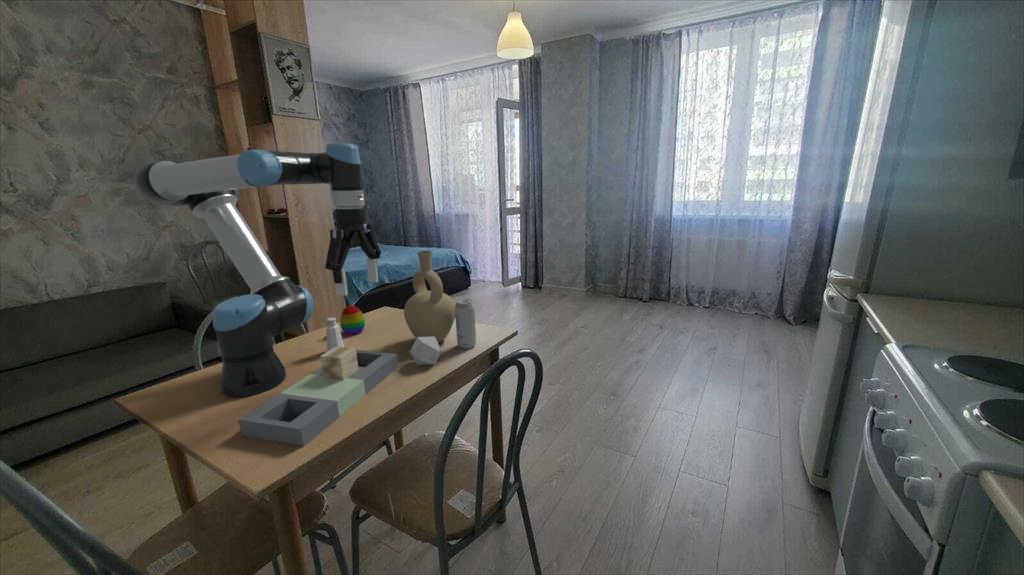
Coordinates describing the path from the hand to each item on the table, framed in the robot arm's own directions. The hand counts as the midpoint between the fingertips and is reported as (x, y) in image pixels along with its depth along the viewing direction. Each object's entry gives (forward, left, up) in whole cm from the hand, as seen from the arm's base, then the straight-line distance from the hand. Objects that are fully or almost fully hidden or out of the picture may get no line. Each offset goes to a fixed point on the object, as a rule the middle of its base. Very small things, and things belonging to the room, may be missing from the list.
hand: (358, 288), depth 109 cm
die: (+14, +8, -25) cm, 29 cm away
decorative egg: (-24, +26, -25) cm, 43 cm away
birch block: (-1, -10, -20) cm, 23 cm away
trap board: (-1, -14, -24) cm, 28 cm away
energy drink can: (+21, +22, -25) cm, 39 cm away
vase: (+8, +24, -25) cm, 35 cm away
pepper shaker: (-19, +10, -25) cm, 33 cm away
